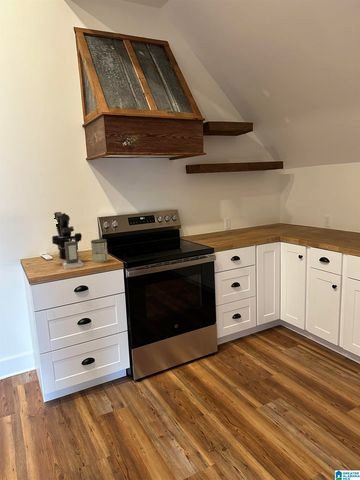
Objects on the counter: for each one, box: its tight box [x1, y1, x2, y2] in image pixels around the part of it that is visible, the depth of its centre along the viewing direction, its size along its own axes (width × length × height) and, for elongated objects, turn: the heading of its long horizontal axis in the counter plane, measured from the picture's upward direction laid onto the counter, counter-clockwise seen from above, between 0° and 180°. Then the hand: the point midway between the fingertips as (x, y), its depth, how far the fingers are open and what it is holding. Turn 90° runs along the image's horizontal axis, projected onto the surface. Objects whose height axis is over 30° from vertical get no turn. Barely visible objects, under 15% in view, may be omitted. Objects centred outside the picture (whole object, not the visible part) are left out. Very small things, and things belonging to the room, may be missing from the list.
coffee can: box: [90, 238, 109, 263], centre depth 239 cm, size 10×10×14 cm
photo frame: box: [64, 240, 79, 264], centre depth 226 cm, size 4×6×14 cm, turn 127°
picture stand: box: [62, 258, 84, 270], centre depth 228 cm, size 10×11×3 cm
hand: (69, 248), depth 233 cm, fingers open, 9 cm apart
